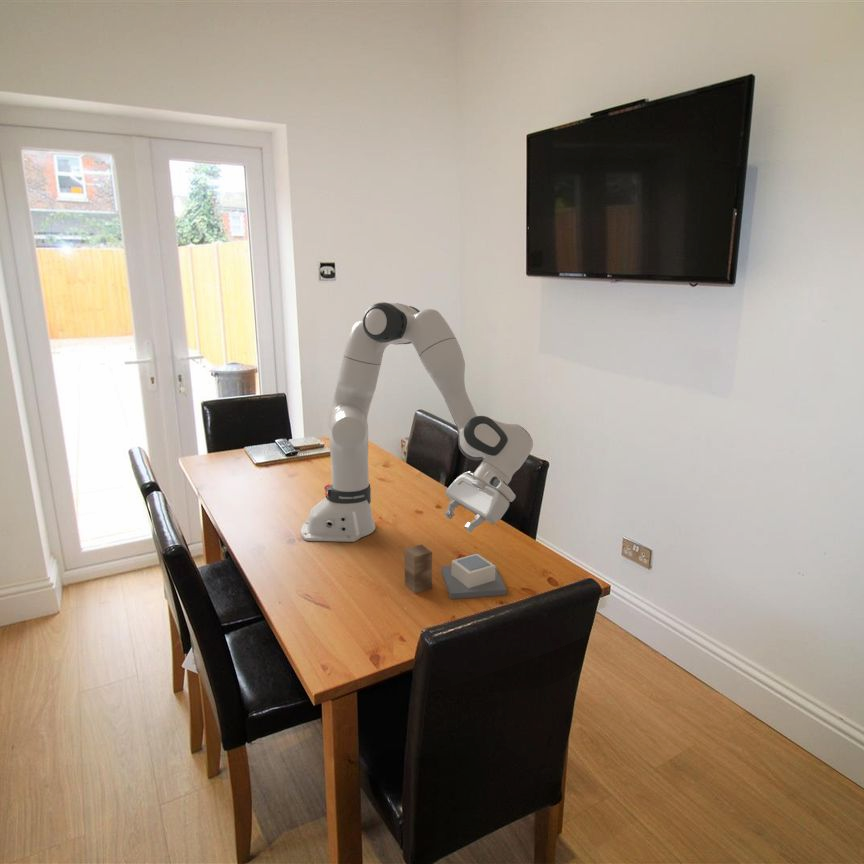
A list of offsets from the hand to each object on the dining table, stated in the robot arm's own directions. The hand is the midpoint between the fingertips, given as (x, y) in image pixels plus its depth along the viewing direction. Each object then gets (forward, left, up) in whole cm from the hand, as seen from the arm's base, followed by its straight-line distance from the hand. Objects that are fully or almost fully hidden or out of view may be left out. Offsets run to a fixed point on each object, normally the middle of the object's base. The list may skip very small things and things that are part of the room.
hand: (457, 523), depth 157 cm
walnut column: (-11, -4, -15) cm, 19 cm away
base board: (+3, -4, -15) cm, 16 cm away
